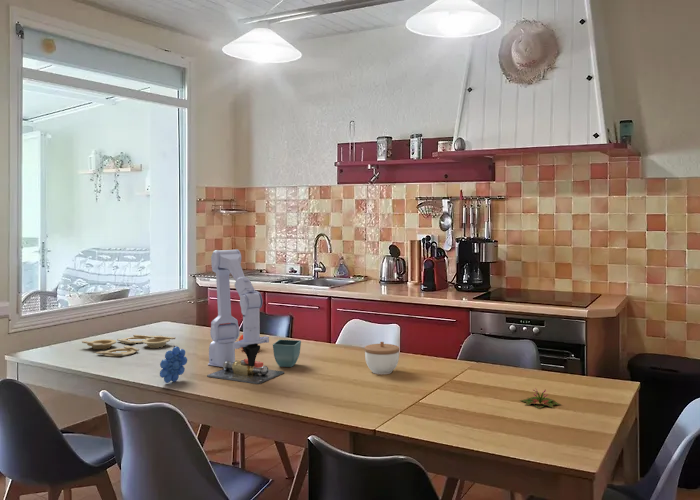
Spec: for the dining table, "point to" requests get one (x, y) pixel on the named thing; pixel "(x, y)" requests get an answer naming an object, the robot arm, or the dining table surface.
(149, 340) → the tableware set
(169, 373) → the grapes
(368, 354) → the lidded bowl
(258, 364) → the lever
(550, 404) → the lily flower
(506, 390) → the dining table surface
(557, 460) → the dining table surface
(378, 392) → the dining table surface
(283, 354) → the flower pot
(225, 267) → the robot arm
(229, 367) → the valve body
